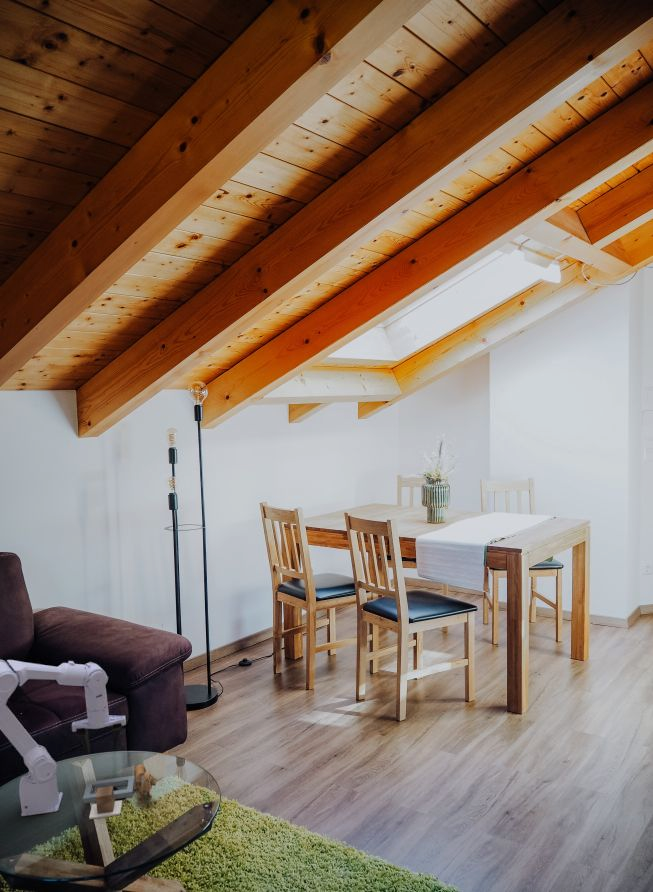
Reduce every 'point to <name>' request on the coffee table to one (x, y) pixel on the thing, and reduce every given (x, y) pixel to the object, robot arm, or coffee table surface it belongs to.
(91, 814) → the rubber mat
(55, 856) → the coffee table surface
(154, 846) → the coffee table surface
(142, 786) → the lion figurine
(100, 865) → the coffee table surface
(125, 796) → the puzzle board
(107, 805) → the walnut block
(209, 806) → the coffee table surface
